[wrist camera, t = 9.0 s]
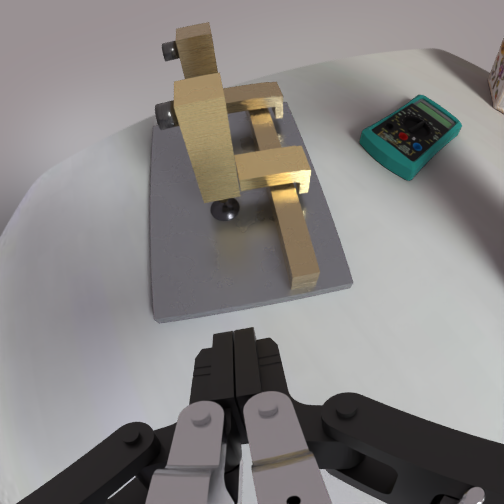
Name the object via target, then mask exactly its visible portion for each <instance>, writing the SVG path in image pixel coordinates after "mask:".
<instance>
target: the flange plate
mask: <svg viewBox="0 0 504 504" xmlns="http://www.w3.org/2000/svg"><path fill="white" fill-rule="evenodd" d="M268 110H269V113H270V115H271V118H272V121H273V124H274V127H275V130H276V132H277V135H278V138H279V141H280V144H281V147H289V146H302V148H303V150H304V153H305V155H306V158H307V161H308V163H309V166H310V168H311V174H310V182H309V190H308V193H302V194H299V192H298V189H297V185H296V182H294V186H295V189H296V193H297V196H298V199H299V202H300V205H301V209H302V212H303V215H304V218H305V222H306V225H307V228H308V232H309V235H310V238H311V242H312V245H313V249H314V252H315V256H316V259H317V263H318V266H319V270H320V274H319V277H318V280H317V283H316V285H312V286H307V287H302V288H297V289H292V290H291V287H290V283H289V279H288V274H287V270H286V266H285V262H284V258H283V254H282V249H281V245H280V241H279V237H278V233H277V229H276V225H275V221H274V217H273V213H272V209H271V205H270V201H269V197H268V193H267V189H266V187H264V188H258V189H252V190H246V191H241V189H240V184H239V179H238V184H239V190H240V197H234V198H229V199H228V201H227V202H225V203H221V202H219V200H218V201H213V202H208V203H204V201H203V198H202V195H201V192H200V189H199V186H198V183H197V180H196V176H195V173H194V170H193V167H192V164H191V161H190V158H189V154H188V151H187V148H186V145H185V142H184V139H183V135H182V132H181V129H180V126H177V127H173V128H169V129H165V130H160V128H159V126H158V125H156V126H153V138H152V157H151V188H150V245H151V277H152V296H153V312H154V320H155V321H157V322H158V323H165V322H172V321H178V320H185V319H191V318H197V317H203V316H209V315H215V314H221V313H227V312H233V311H238V310H244V309H250V308H255V307H260V306H266V305H271V304H276V303H281V302H286V301H291V300H296V299H301V298H306V297H311V296H315V295H320V294H325V293H329V292H334V291H339V290H343V289H348V288H350V287H351V286H352V284H353V280H352V277H351V273H350V270H349V267H348V264H347V261H346V257H345V254H344V251H343V248H342V245H341V242H340V239H339V236H338V233H337V230H336V227H335V224H334V221H333V219H332V216H331V213H330V210H329V207H328V205H327V202H326V199H325V196H324V194H323V191H322V188H321V185H320V183H319V180H318V177H317V175H316V172H315V170H314V167H313V165H312V162H311V159H310V157H309V154H308V152H307V149H306V147H305V144H304V142H303V140H302V137H301V135H300V132H299V130H298V128H297V125H296V123H295V120H294V118H293V116H292V113H291V111H290V109H289V107H288V104H287V102H283V118H279V119H275V116H274V113H273V111H272V108H271V107H269V108H268ZM227 115H228V121H229V128H230V134H231V140H232V147H233V153H234V155H238V154H244V153H250V152H256V147H255V143H254V140H253V136H252V132H251V129H250V125H249V121H248V118H247V114H246V111H242V112H236V113H230V114H227ZM234 159H235V157H234ZM235 165H236V163H235ZM236 172H237V169H236ZM237 178H238V174H237Z"/></svg>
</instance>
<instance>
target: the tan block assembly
mask: <svg viewBox="0 0 504 504" xmlns="http://www.w3.org/2000/svg"><path fill="white" fill-rule="evenodd" d="M162 51H163V56H164V59H165V61H169V60H174V59H178V58H180V61H181V64H182V69H183V73H184V76H185V79H189V78H193V77H198V76H203V75H208V74H214V73H218V71H217V65H216V59H215V53H214V46H213V41H212V34H211V29H210V25H209V22H208V23H202V24H197V25H192V26H187V27H183V28H178V29H176V41H172V42H167V43H163V44H162ZM223 92H224V96H225V103H226V109H227V114H230V113H236V112H242V111H246V114H247V118H248V121H249V125H250V129H251V132H252V136H253V140H254V143H255V147H256V151H262V150H268V149H275V148H282V147H281V144H280V141H279V138H278V135H277V132H276V130H275V127H274V124H273V121H272V118H271V115H270V113H269V110H268V108H269V107H271V108H272V111H273V113H274V116H275V119H279V118H283V95H282V93H281V90H280V88H279V86H278V84H277V82H271V83H269V82H265V83H257V84H250V85H243V86H236V87H230V88H224V89H223ZM266 189H267V193H268V197H269V201H270V205H271V209H272V213H273V217H274V221H275V225H276V229H277V233H278V237H279V241H280V245H281V249H282V254H283V258H284V262H285V266H286V270H287V274H288V279H289V283H290V287H291V290H292V289H297V288H302V287H307V286H312V285H316V283H317V280H318V277H319V274H320V270H319V266H318V263H317V259H316V256H315V252H314V249H313V245H312V242H311V238H310V235H309V232H308V228H307V225H306V222H305V218H304V215H303V212H302V209H301V205H300V202H299V199H298V196H297V193H296V189H295V186H294V183H288V184H282V185H275V186H269V187H266Z"/></svg>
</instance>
